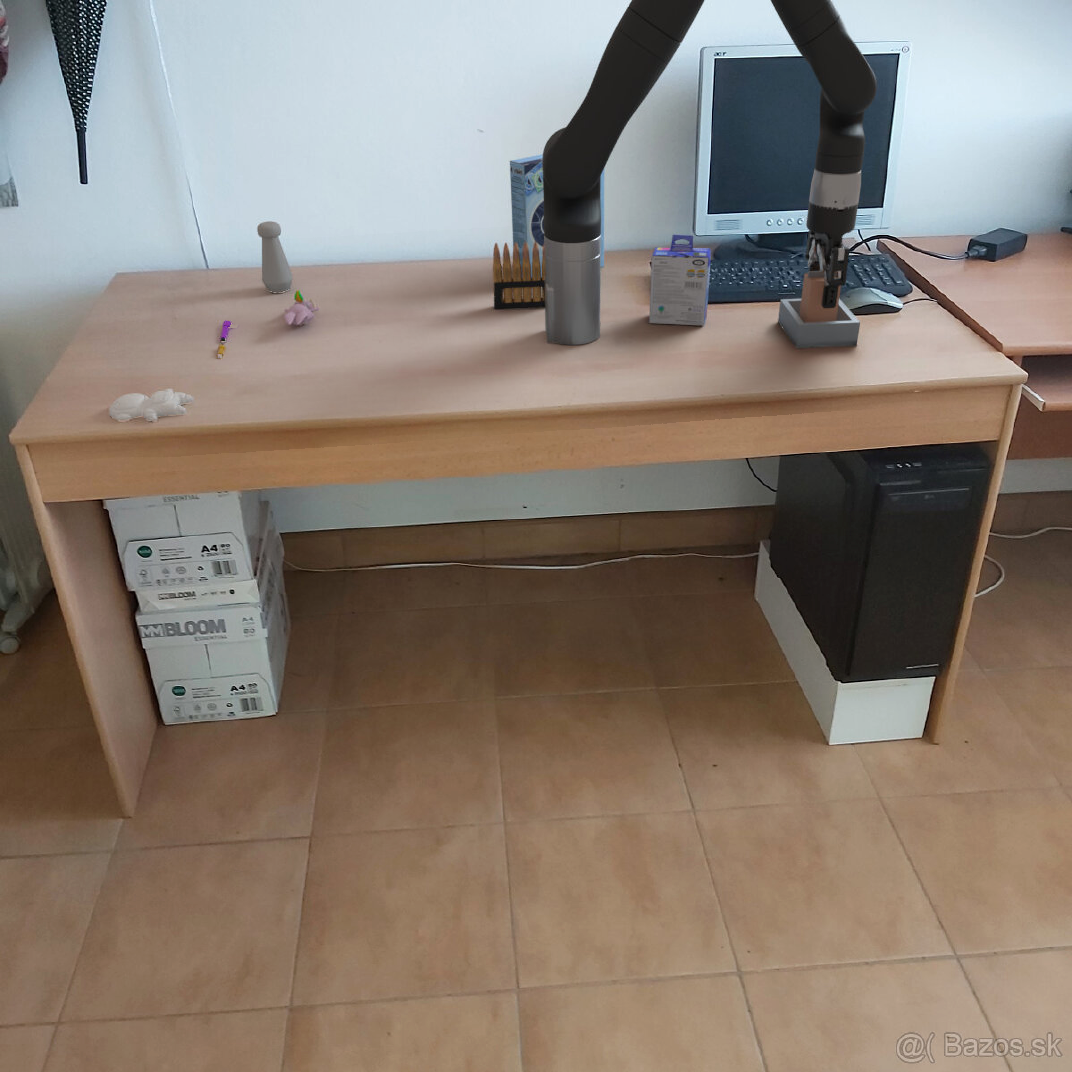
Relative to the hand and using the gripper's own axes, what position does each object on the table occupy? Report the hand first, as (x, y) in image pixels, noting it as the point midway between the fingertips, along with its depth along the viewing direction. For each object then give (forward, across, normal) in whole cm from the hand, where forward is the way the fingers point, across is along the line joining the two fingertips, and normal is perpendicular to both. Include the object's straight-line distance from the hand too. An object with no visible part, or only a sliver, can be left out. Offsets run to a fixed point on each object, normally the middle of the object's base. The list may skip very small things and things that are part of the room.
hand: (820, 298), depth 167 cm
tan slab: (+5, 0, 0) cm, 5 cm away
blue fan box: (+6, -36, -41) cm, 55 cm away
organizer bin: (+6, 0, 0) cm, 6 cm away
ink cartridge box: (+6, -9, -22) cm, 25 cm away
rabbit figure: (+6, -16, -89) cm, 91 cm away
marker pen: (+7, -9, -101) cm, 102 cm away
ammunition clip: (+6, -19, -49) cm, 53 cm away
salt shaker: (+6, -34, -96) cm, 102 cm away
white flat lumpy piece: (+7, +18, -107) cm, 109 cm away
